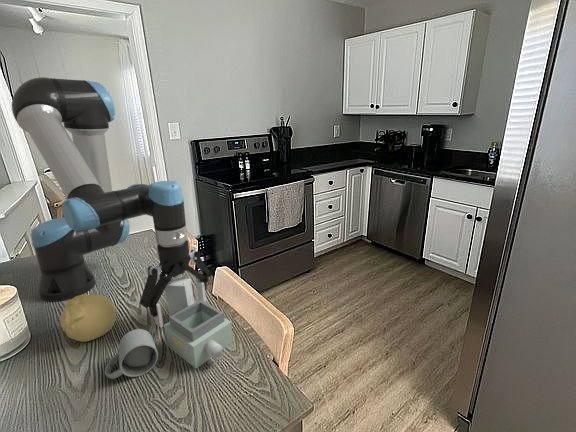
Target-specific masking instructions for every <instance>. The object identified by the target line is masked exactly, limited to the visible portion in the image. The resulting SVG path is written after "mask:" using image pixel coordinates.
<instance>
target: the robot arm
mask: <svg viewBox="0 0 576 432" xmlns="http://www.w3.org/2000/svg"><path fill="white" fill-rule="evenodd" d="M108 91H109V90H108V89H107V88H106V87H105V85H103V84H101V83H100V82H97V81H92V80H91V81H90V80H85V79H83V80H82V79H67V78H65V79H64V78H54V77H53V78H52V77H43V76H42V77H35V78H34V77H33V78H32V79H31V78H30V79H28V80H26V81H24V82H23V83H22V84H21V85H20V86H18V88H17V89H16V91H15V92H14V94H13V97H12V101H11V111H12V115H13V118H14V119H15V122H16V123H17V125H18V126H19V128H20V129H22V130H23V131H24V132H26V133H28V135H29V136H30V138H31V140H32V141H33V143H34V144H35V146H36V148H37V151H39V153H40V155H41V156H42V158H43V160H44V162H45V163H46V165H47V166H48V168H49V171H50V172H51V174H52V175H53V177H54V179H55V180H56V182H57V185H58V186H59V187H60V189H61V190H62V192H63V194H64V196H65V198H66V199H64V200H63V202H62V204H61V212H62V217H57V218H52V219H49V220H47V221H44V222H41V223H39V224H38V225H36V226H35V227H34V228H33V229H32V230H31V232H30V235H31V236H30V237H31V242H32V243H31V244H32V245H31V246H32V247H33V248H34V252H35V255H36V259H37V263H38V266H39V268H40V269H39V270H40V274H41V276H40V280H39V288H38V292H39V296H40V298H41V300H43V301H45V302H59V301H60V302H61V301H66V300H67V301H68V300H72V299H73V298H74V297H76V296H78V295H83V294H85V293H86V294H87V293H88V292H89V291H90V290H91V289H93V287H95V285H96V282H97V281H96V278H95V275H94V273H93V272H92V270H91V268H89V266H88V265H87V263H86V262H85V258H84V255H86V254H90V253H92V252H96V251H101V250H103V249H106V248H110V247H115V246H116V245H118V244H121V243H124V242H125V241H126V240H127V239H128V237H129V235H130V223H129V219H134V218H137V217H141V216H149V217H151V218H152V221H153V227H154V234H155V240H156V244H157V246H156V247H157V253H158V258H159V264H158V265H156V266H151V265H150V266H148V267H147V278H146V282H145V285H144V288H143V291H142V294H141V298H140V300H139V305H142V307H144V308H146V309H149V314H150V316H151V317H153V319H154V324H155V325H156V326H157V327H160V328H163V327H164V321H163V316H162V310H161V304H160V303H159V300H160V298H161V297H162V295H163V293H164V292H165V290H164V289H165V287H166V285H167V284H168V282H170V281H171V279H172V278H177V277H178V276H179V275H183V274H184V273H185V272H186V271H187V272H188V273H190V274H191V275H193V276H194V277H195V278H197V280H196V281H195V282H196V291H197V292H196V293H197V299H198V301H200V300H202V301H204V302H206V303H207V300H206V299H207V297H206V291H207V289H208V286H207V283H208V282H209V278H211V277H212V275H213V274H212V273H211V271H210V270H209V268H208V267H207V265H206V264H205V262H204V261H203V259H202V257H201V254H200V251H198V250H195V249H191V251H190V249H189V248H190V246H189V241H188V232H187V231H188V230H187V224H186V223H187V222H186V220H187V219H186V211H185V202H184V199H185V198H184V195H183V190H182V186H181V183H180V182H178V181H176V180H175V181H174V180H159V181H155V182H153V183H150V184H149V185H148V184H146V183H136V184H135V183H133V184H131V185H129V186H128V187H127V188H123V189H117V190H113V186H112V179H111V172H110V171H111V170H110V166H109V165H110V163H109V157H108V150H107V143H106V136H105V135H106V132H108V130H109V129H110V127H109V126H110V125H109V123H111V122H113V121H114V120H115V117H116V116H115V115H116V108H115V103H114V100H113V98H112V96H111V94H110V92H108ZM62 123H63V124H62ZM67 131H68V132H69V133H70V134H71V137H72V138H71V137H70V134H69V133H68V132H67ZM191 260H192V261H193V262H194V263H195V265H196V267H198V269H199V270H200V271H201V273H200V272H199V271H197V270H196V269H194V268H193V267H192V266H190V265H189V264H190V261H191Z"/></svg>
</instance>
